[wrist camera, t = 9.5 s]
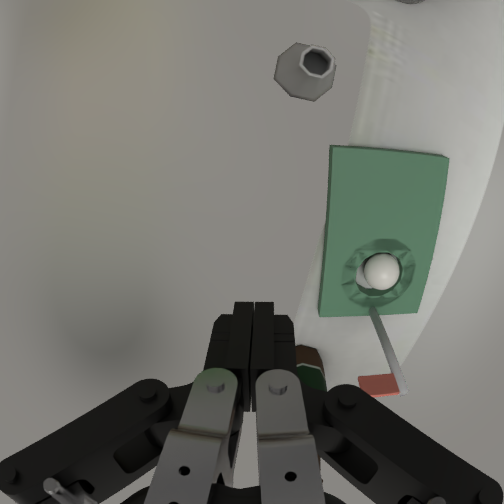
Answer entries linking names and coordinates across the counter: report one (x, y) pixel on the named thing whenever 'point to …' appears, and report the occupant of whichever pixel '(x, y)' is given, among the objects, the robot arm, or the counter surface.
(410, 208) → the putting board
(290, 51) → the flask
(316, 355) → the beer bottle
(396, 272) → the ball
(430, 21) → the counter surface
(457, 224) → the counter surface
